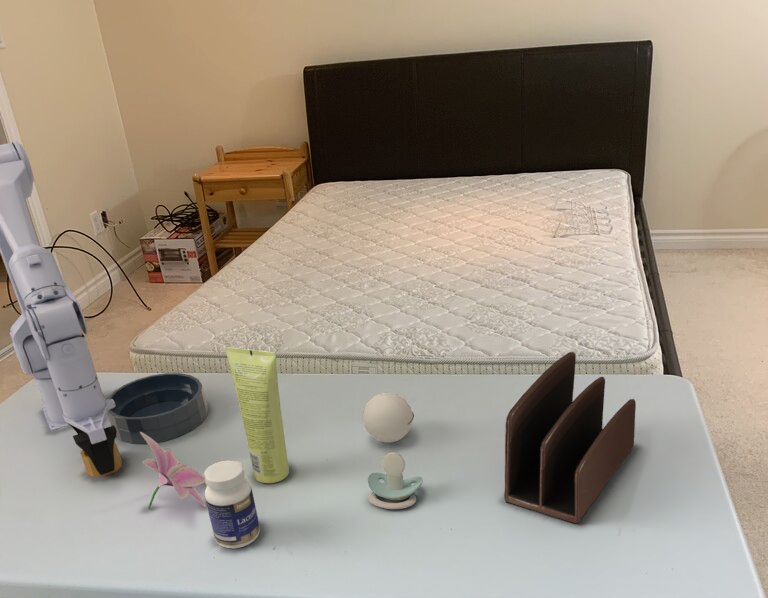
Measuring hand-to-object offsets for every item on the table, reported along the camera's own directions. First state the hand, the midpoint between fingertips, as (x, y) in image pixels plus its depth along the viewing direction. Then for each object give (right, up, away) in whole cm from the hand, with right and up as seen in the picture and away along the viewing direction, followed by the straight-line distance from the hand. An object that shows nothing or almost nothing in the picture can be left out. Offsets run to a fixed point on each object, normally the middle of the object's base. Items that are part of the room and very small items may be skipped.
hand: (103, 463), depth 112 cm
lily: (+14, -5, -8) cm, 17 cm away
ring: (0, -1, +1) cm, 1 cm away
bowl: (+5, +6, +12) cm, 14 cm away
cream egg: (+43, +4, +2) cm, 43 cm away
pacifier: (+43, -4, -12) cm, 45 cm away
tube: (+26, -2, -5) cm, 26 cm away
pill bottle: (+23, -8, -16) cm, 29 cm away
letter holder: (+66, -1, -11) cm, 67 cm away
